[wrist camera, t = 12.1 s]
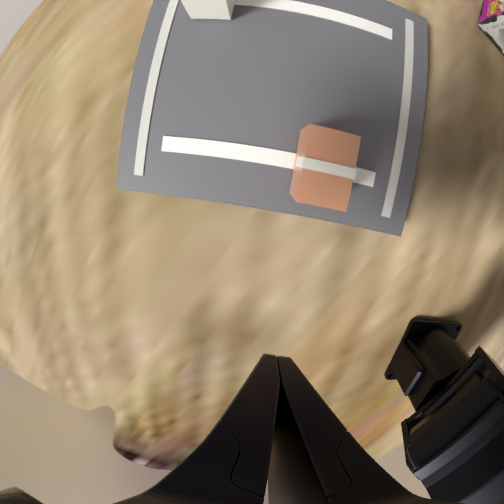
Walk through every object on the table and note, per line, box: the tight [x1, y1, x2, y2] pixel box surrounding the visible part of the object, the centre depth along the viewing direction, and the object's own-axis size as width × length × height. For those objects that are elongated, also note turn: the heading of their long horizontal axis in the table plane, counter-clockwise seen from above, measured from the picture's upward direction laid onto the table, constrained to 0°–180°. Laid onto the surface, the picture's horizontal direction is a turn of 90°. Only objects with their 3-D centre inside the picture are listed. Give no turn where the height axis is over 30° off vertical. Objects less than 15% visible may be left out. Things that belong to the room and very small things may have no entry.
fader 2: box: [289, 124, 361, 212], centre depth 13 cm, size 2×4×3 cm
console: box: [117, 0, 428, 236], centre depth 14 cm, size 18×16×2 cm
